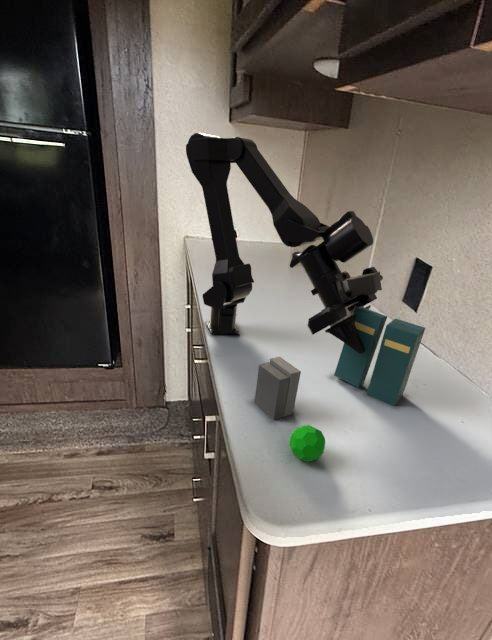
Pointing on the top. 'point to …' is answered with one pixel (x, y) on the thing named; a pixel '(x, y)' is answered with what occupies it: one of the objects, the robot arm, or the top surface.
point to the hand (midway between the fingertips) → (366, 350)
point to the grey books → (277, 387)
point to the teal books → (395, 360)
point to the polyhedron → (307, 443)
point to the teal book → (369, 330)
